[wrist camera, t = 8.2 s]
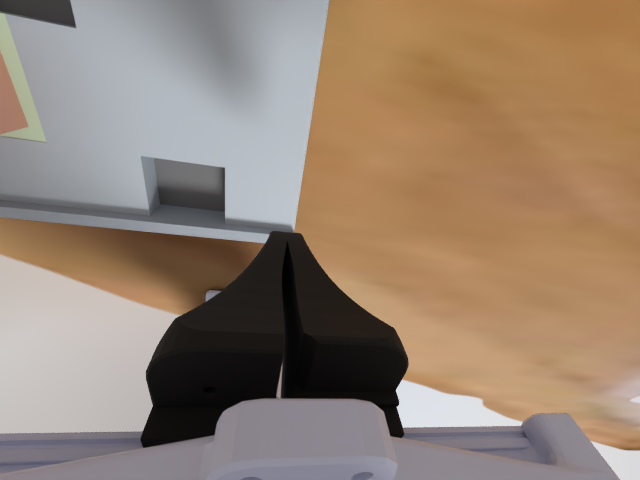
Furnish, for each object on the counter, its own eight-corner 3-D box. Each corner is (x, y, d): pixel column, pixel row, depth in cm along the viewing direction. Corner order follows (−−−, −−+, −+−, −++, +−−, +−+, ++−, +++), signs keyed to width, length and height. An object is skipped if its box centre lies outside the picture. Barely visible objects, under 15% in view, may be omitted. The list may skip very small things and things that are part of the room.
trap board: (292, 226, 23) (292, 250, 20) (-25, 192, 20) (-78, 215, 17) (330, -33, 15) (340, -54, 12) (-214, -182, 11) (-385, -263, 8)
